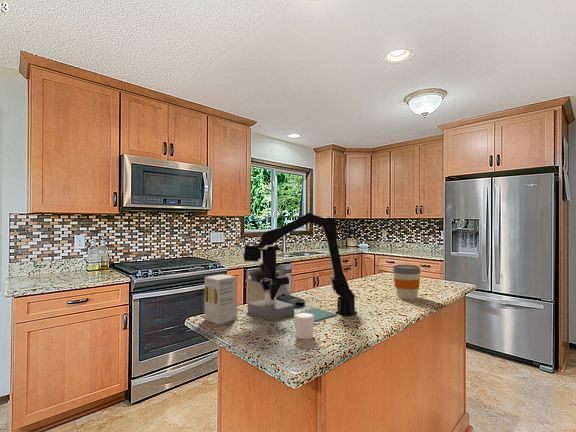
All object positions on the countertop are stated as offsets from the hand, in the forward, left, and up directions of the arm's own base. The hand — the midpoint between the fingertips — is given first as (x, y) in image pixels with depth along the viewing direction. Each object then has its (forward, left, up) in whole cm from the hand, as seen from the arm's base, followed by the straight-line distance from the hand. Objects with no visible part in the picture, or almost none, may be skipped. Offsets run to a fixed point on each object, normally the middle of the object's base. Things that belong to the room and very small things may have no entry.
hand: (270, 299), depth 131 cm
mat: (-14, -12, -6) cm, 20 cm away
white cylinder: (-28, +7, -6) cm, 29 cm away
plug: (0, 0, -5) cm, 5 cm away
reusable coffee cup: (-24, -65, -6) cm, 70 cm away
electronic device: (+6, -17, -6) cm, 19 cm away
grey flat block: (0, 0, -6) cm, 6 cm away
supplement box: (+7, +19, -6) cm, 21 cm away
